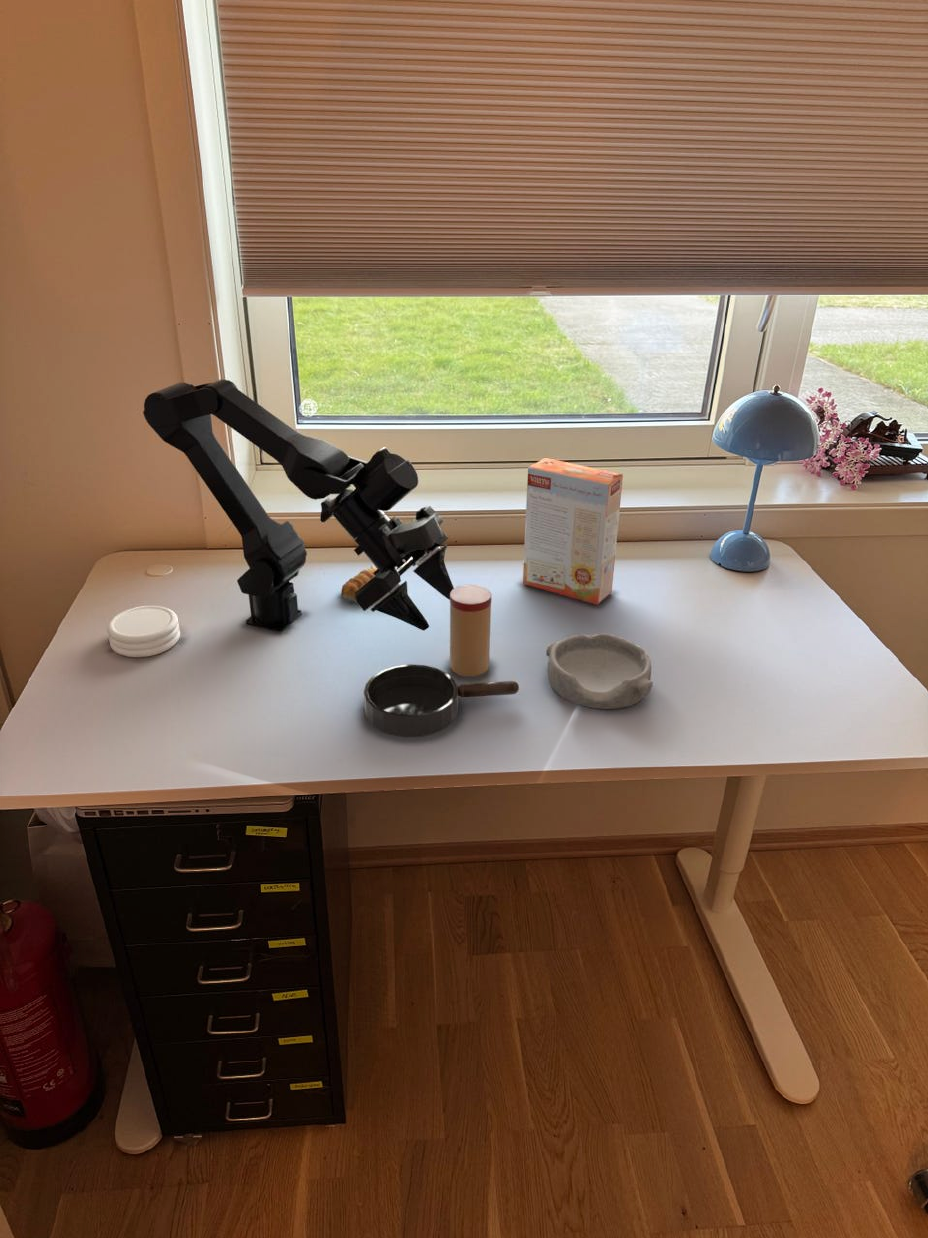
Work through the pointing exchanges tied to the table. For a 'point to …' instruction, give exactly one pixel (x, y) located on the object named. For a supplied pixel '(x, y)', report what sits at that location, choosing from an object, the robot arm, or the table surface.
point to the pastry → (356, 583)
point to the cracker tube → (470, 629)
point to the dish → (599, 671)
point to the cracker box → (571, 529)
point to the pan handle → (487, 689)
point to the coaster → (143, 631)
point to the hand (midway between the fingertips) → (441, 613)
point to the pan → (411, 700)
